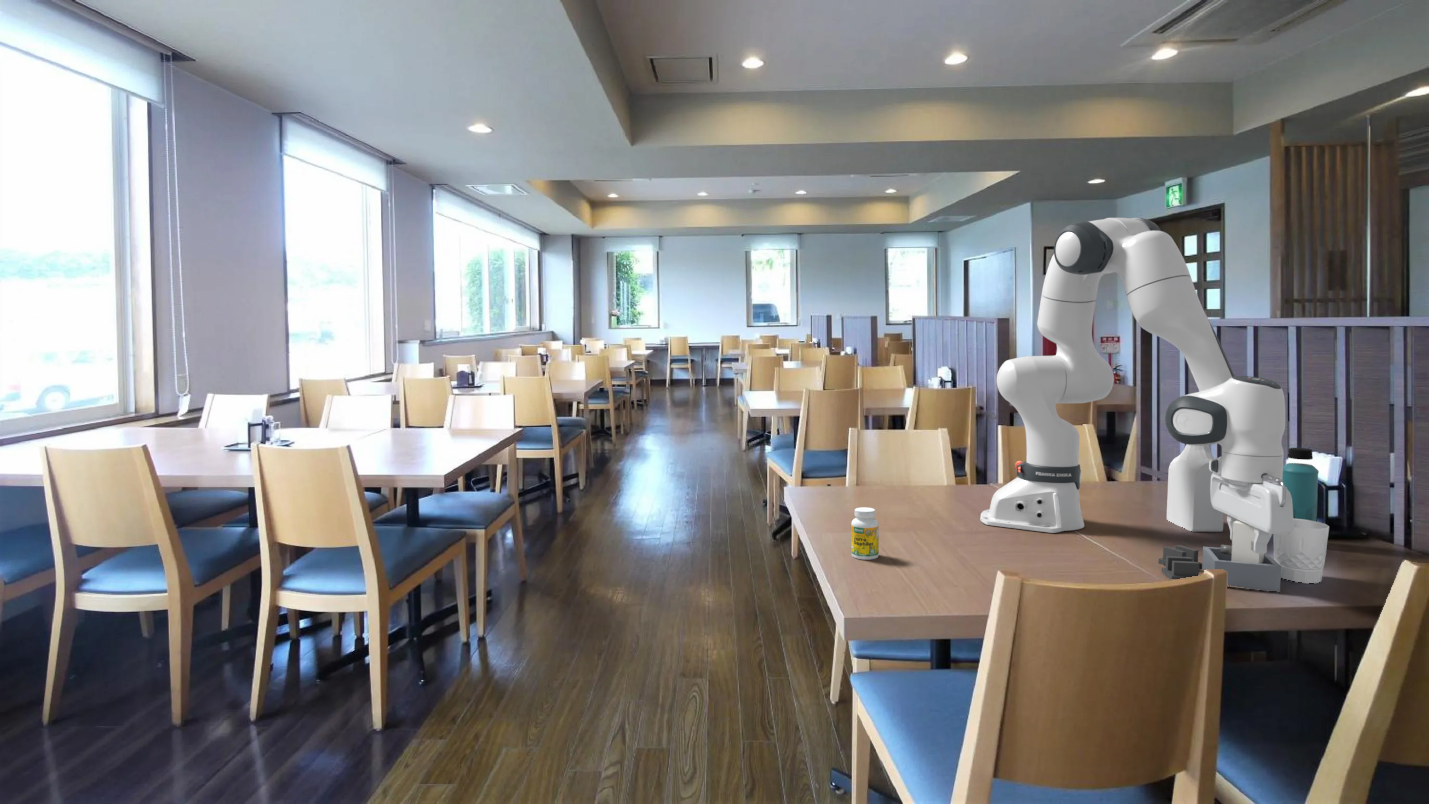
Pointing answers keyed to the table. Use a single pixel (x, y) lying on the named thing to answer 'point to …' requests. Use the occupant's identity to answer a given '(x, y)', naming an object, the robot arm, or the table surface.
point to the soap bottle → (1192, 491)
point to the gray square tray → (1244, 570)
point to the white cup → (1302, 551)
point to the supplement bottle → (865, 534)
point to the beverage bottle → (1302, 484)
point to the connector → (1242, 544)
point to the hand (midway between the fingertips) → (1247, 546)
